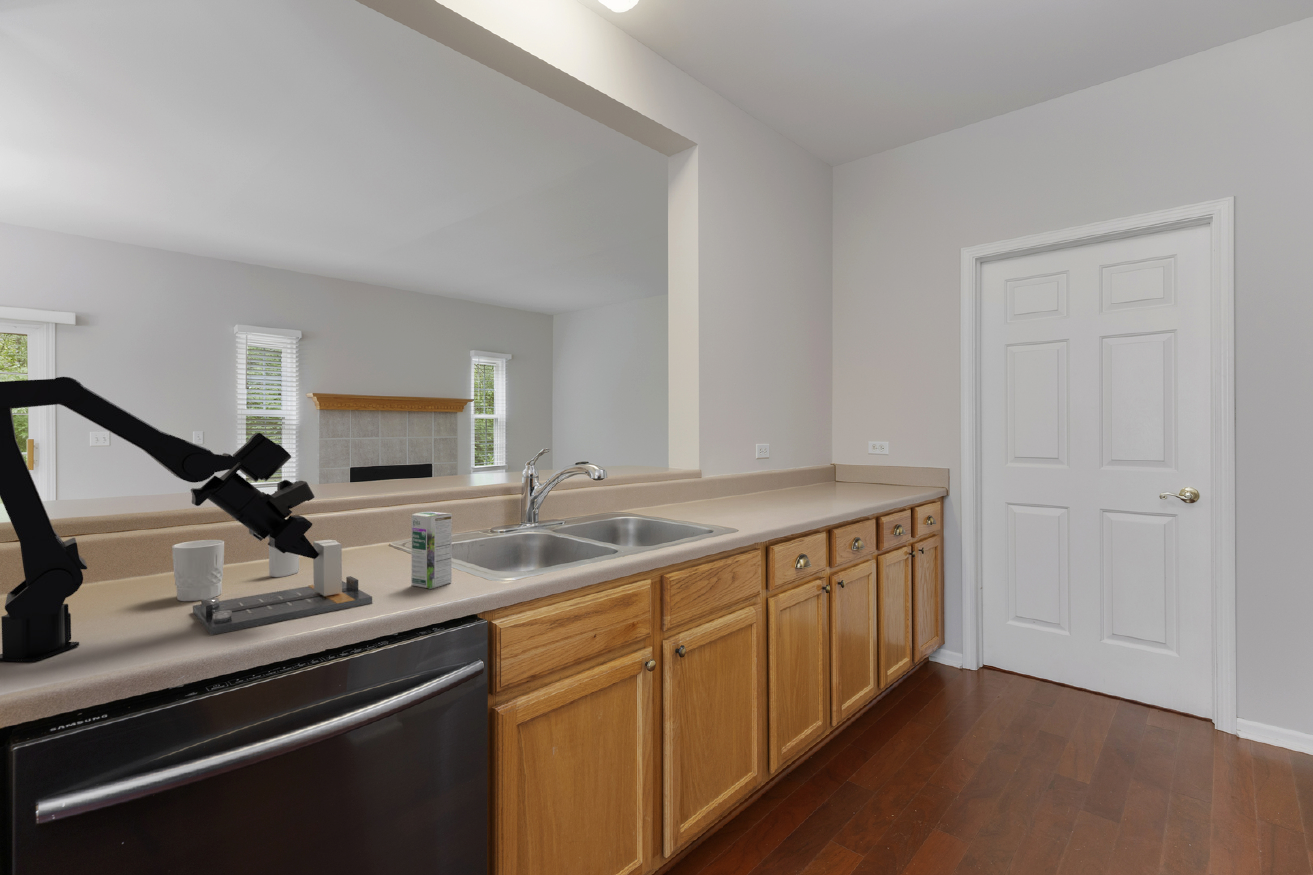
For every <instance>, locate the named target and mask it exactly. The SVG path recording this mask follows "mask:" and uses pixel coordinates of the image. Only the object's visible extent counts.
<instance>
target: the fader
mask: <svg viewBox="0 0 1313 875" xmlns="http://www.w3.org/2000/svg"><path fill="white" fill-rule="evenodd" d="M342 545H343V544H342V543H340V542H338V541H337V539H336V540H334V539H323V540H314V541H313V542H312V546H313V547H314V548H315V549H316V551H317V552H318V553H319V556H318V557H317V558H316V559H312V560H313V562H312V563H313V566H312V567H313V568H312V569H313V585H314V590H315V591H317V592H318V593H320V594H322V595H323V596H327V595H333V594H338V593H342V581H343V570H342V569H343V566H342V565H343V558H342V556H343V555H342V551H343V550H342Z"/></svg>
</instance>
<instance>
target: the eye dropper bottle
mask: <svg viewBox="0 0 1313 875" xmlns="http://www.w3.org/2000/svg"><path fill="white" fill-rule="evenodd" d="M268 571H269V572H268V574H269V577H270V578H271V577H272V578H282V577H289V576H292V574H293V575H296V574H298V573H299V572H300V555H296V554H292V553H288V552H286V553H282V552H280V551H279V550H277V549H275V548H273V547H271V546H269V545H268Z"/></svg>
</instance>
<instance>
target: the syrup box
mask: <svg viewBox="0 0 1313 875" xmlns="http://www.w3.org/2000/svg"><path fill="white" fill-rule="evenodd" d="M452 514H453V513H451V512H450V513H449V512H435V511H422V512H421V511H419V512H416V513H413V514H411V581H410V584H411V586H412V587H419V588H425V589H430V590H431V589H435V588H438V587H442V586H445V585H448V584H451V583H452V581H453V580H452V578H453V577H452V576H453V575H452V566H453V565H452V564H453V563H452V562H453V561H452V558H453V557H452V554H453V551H452V549H453V548H452V546H453V543H452V541H453V539H452V538H453V535H452V534H453V533H452V532H453V528H452V527H453V526H452V524H453V522H452V518H453V515H452Z"/></svg>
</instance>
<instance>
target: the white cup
mask: <svg viewBox="0 0 1313 875" xmlns="http://www.w3.org/2000/svg"><path fill="white" fill-rule="evenodd" d="M171 551H172V552H171V553H172V563H173V575H174V576H173V577H174V581H175V582H174V585H175V586H176V599H177V601H180V602H196V601H202V600H204V599H209V598H217V597H219V596H220V595H221V594H222V590H223V588H222V587H223V585H222V584H223V581H222V580H223V578H224V577H223V576H224V566H225V565H224V564H225V563H224V561H225V540H222V539H221V540H220V539H203V540H192V541H191V540H190V541H185V542H180V543H176V544H173V545H172V546H171Z"/></svg>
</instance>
